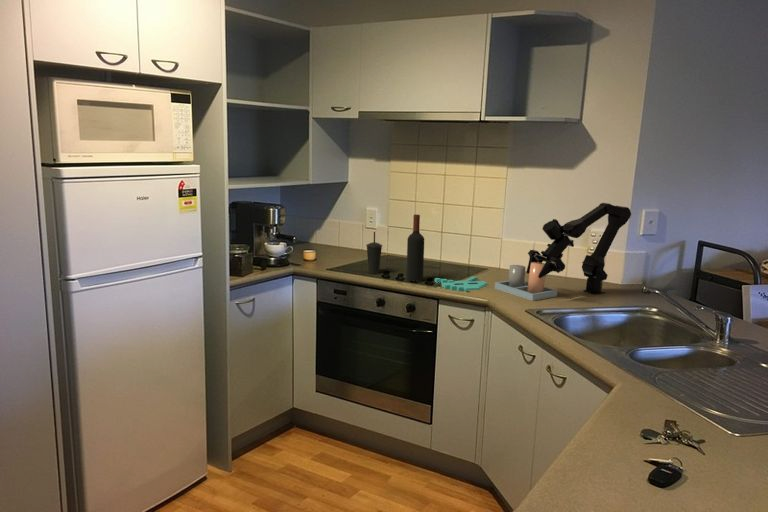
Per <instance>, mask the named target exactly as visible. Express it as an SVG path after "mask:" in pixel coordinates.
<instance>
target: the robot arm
mask: <svg viewBox="0 0 768 512" xmlns="http://www.w3.org/2000/svg"><path fill="white" fill-rule="evenodd" d="M606 215H608V216H607V225H606V227H605V229H604V231H603V233H602V235H601V237H600V239H599V241H598V243H597V245H596V247H595V248H594V251H593V252H592V254H590V255H589V254H586V255H585V256H584V260H583V261H582V262H581V264H582V265H581V270H582V273H583V276H584V277H587V278H586V286H585V289H582V291H583V292H586V293H589V294H593V295H598V294H603V293H605V290H603V282H604V281H606V280H607V278H608V274H607V272H606V271H605V270H604V269H605V266H606V262H605V258H606V255H607V253H608V251H609V250H610V248H611V246H612V244H613V242H614V239H615V238H616V237H617V234H618V232H619V230H620V229H621V228H622V227H623V226H624V225H626V224H627V222H628V221H629V220H630V218H631V217H632V212H631V209H630V207H627V206H620V205H614V204H611V203H607V202H601V203H600V204H599V205H598V206H595V208H593V209H591V210H590V211H589V212H587V213H585V214H584V215H583V216H581V217H579V218H577V219H572V220H570V221H568V222H565V223H564V224H563V225H561V224H560V223H559V220H557V219H556V218H553V219H551V220H549V221H547V222H546V223H544V224H543V226H542V231H543V232H544V234H546V235H547V238H549V239H550V240H551V241H552V242H551V243H547V245H546V246H547V248H546V249H545V250H541V251H540V252H539V251H538V250H535V249H530V250H529V251H528V252H527V254H528V256H529V260H528V265H527V268H526V270H525V273H526V274H527V275H529V273H530V266H531V262H539V263H543V262H544V264H545V265H544V266H543V268H542V270H541V272H540V274H539V276H538V277H539V278H542V277H543V276H545V275H546V276H547V275H548V274H550V273H552V272H556V273H560V272H563V271H564V270H565V269H566V264H565V263H564V261H563V260H562V257H564V256H563V255H564V253H563V252H564V251H565V250H566V249H567V248H569V247H572V248H574V247H575V244H574V240H573V239H578V238H580V237H582V236H583V234H584V233H585V232H586V231H587V228H588V227H590V226H591V225H593V224H594V223H596V222H597V221H598V220H600V219H602V218H603V217H605V216H606ZM571 238H573V239H571Z"/></svg>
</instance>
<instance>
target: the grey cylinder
mask: <svg viewBox="0 0 768 512" xmlns="http://www.w3.org/2000/svg"><path fill="white" fill-rule="evenodd" d="M526 270H527V268H526V266H525V265H520V264H511V265H509V271H508V281H509V284H508V286H510V287H513V288H517V287H523V286H524V283H525V281H526Z"/></svg>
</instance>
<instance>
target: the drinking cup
mask: <svg viewBox="0 0 768 512" xmlns="http://www.w3.org/2000/svg"><path fill="white" fill-rule="evenodd" d="M382 248H383V244H381V243H379V242H376V231H373V242H369V243H367V244H366V254H367V256H366V257H367V267H368V270H367V271H368V274H369V273H370V275H378V273H379V274H380V265H381V257H382Z"/></svg>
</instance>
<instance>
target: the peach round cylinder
mask: <svg viewBox="0 0 768 512" xmlns="http://www.w3.org/2000/svg"><path fill="white" fill-rule="evenodd" d="M544 265H545V262H544V263H543V262H542V263H539V262H531V266H530V273H529V274H528V280H527V282H528V287H527V292H529V293H532V294H534V293H540V292H544V287H545V283H546V277H547V275H545V276H543V277H542V278H539V277H538V276H539V274H540V272H541V270H542V268H543V266H544Z"/></svg>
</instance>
